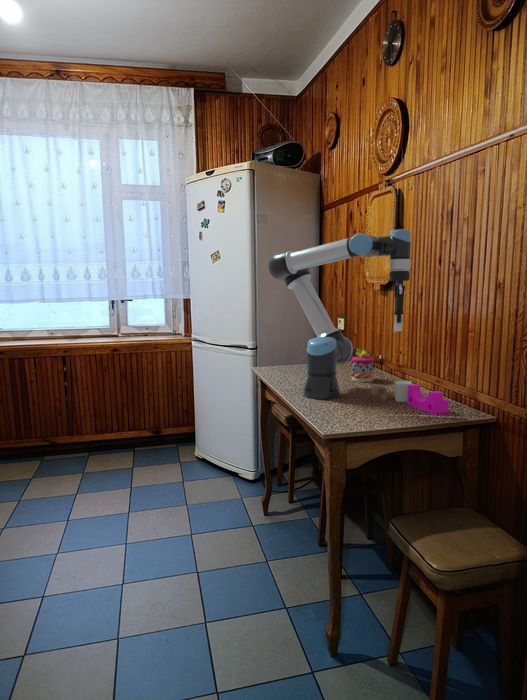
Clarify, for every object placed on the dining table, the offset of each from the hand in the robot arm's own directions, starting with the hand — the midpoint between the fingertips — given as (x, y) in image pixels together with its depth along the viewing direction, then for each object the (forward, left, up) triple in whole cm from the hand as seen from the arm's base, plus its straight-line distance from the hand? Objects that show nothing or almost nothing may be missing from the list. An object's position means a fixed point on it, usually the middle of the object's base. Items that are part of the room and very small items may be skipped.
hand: (398, 330), depth 185 cm
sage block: (+2, -6, -27) cm, 27 cm away
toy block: (+9, -17, -27) cm, 33 cm away
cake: (-13, +28, -27) cm, 41 cm away
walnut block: (-8, -7, -27) cm, 28 cm away
